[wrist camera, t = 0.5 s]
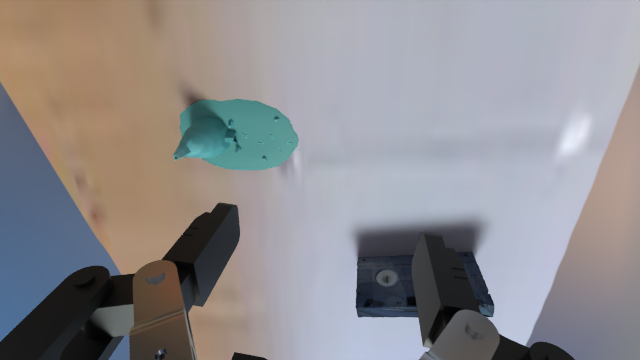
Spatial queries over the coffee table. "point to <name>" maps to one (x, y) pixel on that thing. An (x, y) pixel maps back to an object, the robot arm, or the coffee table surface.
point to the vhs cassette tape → (405, 286)
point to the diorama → (236, 134)
